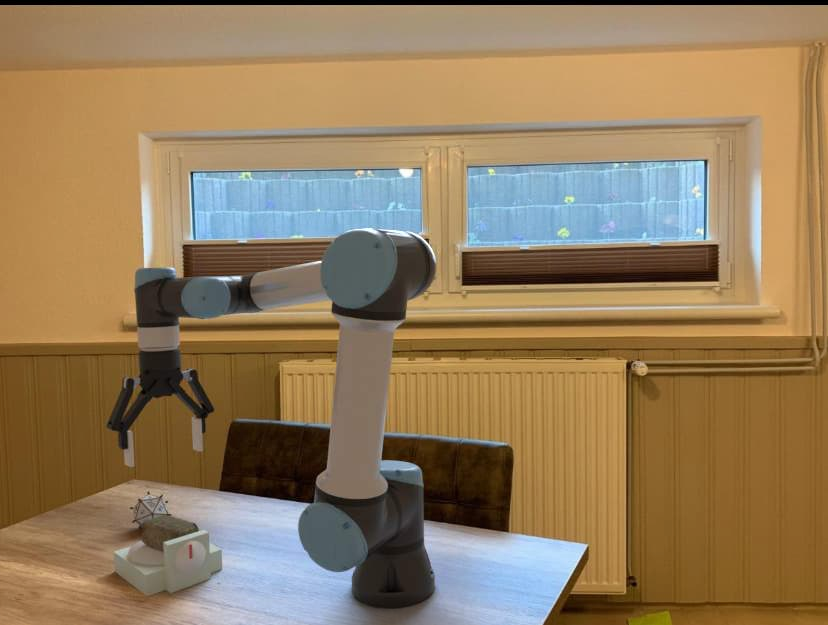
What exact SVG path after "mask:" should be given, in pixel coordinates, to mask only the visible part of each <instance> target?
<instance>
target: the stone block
mask: <svg viewBox="0 0 828 625" xmlns="http://www.w3.org/2000/svg"><path fill="white" fill-rule="evenodd" d="M198 531H200V529H199V526H198V525H197V523H196V522H192V521H189V520H187V519H182V518H178V517H175V516H173V515H172V516H169V515H162V516H159V517H156V518H153V519H150V520H148V521H145V522H143V524H142V526H141V540H142V542H143V543H144V544H146V545H148V546H150V547H152V548H156V549H158V550H162V551H164V546H163V542H166V541H169V540H172V539H176V538H179V537H182V536H185V535H188V534H192V533H195V532H198Z"/></svg>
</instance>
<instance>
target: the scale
mask: <svg viewBox="0 0 828 625" xmlns="http://www.w3.org/2000/svg"><path fill="white" fill-rule="evenodd" d="M163 546H164V551H162V550H158V549H156V548H152V547H150V546H148V545H146V544H144V543H143V542H142V540H139V541H137V542H135V543H134V544H133V545H130V546H128V547H124V548H121V549H118V550H115V551H113V562H114V563H113V564H114V572H115V573H116V574H118V575H119V576H120V577H121V578H123V579H124V580H125V581H126V582H128V583H129V584H130V585H131V586H133V587H134V588H135V589H137V591H139V592H140V593H142V594H143V595H144V596H145V597H151V596H153V595H155V594H156V595H157V594H158V593H161V592H164V591H167V592H168V593H169V594H173V593H176V592H178V591H181V590H184V589H186V588H188V587H191V586H195V585H197V584H200V583H202V582H203V583H204V582H205V581H207V580H208V581H209V580H210V579H212V574H213V573H216V572H218V571H221V570H223V555H222V554H223V552H222V549H221V548H220V547H218V546H216V545H214V544H213V543H211V542H210V532H209V531H207V530H206V529H202V530H201V529H200V530H199V531H198V532H195V533H192V534H188V535H185V536H182V537H179V538H176V539H172V540H169V541H166V542H163Z"/></svg>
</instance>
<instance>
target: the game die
mask: <svg viewBox="0 0 828 625" xmlns="http://www.w3.org/2000/svg"><path fill="white" fill-rule="evenodd" d="M146 493H147V494H146V495H145V496H144V497H143V498H137V501H138V502H137V503H136V504H135V505H134V506H130V507H129V509H130V510H132V511H133V516H134V517H133V518H134V519H133V520H132V521H131V523H132V524H134V523H137V524H138V525H139V526H138V529H142V524H143V522H145V521H148V520H150V519H153V518H156V517H159V516H162V515H169V516H173V514H171V513H169V511H168V507H167V504H168V503H169V500H166V501H165V500H164V499H163V497H164V495H163V494H160V495H159V496H157V495H154V494H151V493H150V491H149V490H148V491H147V492H146Z"/></svg>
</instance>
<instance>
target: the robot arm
mask: <svg viewBox="0 0 828 625" xmlns="http://www.w3.org/2000/svg"><path fill="white" fill-rule="evenodd" d="M436 272H437V260H436V256H435V254H434V251H433V248H432V247H431V246H430V244H429V243H428V242H427V240H426V239H424V238H423V237H422V236H420V235H418V234H416V233H414V232H411V231H408V230H407V231H406V230H393V229H392V230H390V229H380V228H379V229H378V228H374V227H371V228H369V227H368V228H366V227H363V228H356V229H351V230H348V231H345V232H343V233H341V234H339V235H338V236H337V237H335V239H334V240H332V241H331V242H330V243H329V245H328V246H327V247H326V250H325V251H324V254H323V256H322V259H321V260H318V261H317V260H316V261H312V262H307V263H302V264H295V265H291V266H284V267H280V268H274V269H269V270H263V271H259V272H253V273H252V272H251V273H247V274H240V275H220V276H218V275H217V276H213V275H212V276H209V275H207V276H201V275H200V276H187V277H186V276H185V277H178V274H177V270H176V268H174V267H170V266H168V267H161V266H159V267H140V268H137V269H136V271H135V273H134V288H133V291H134V298H135V311H136V313H135V314H136V326H137V327H136V332H137V333H136V334H137V347H138V349H139V348H140V349H141V350H139V352H138V368H139V375H138V377H128V376H124V377H123V378H122V380H121V390H120V392H119V395H118V397H117V399H116V402H115V404H114V406H113V409H112V411H111V414H110V417H109V419H108V421H107V423H106V428H107V430H110V431H113V432H117V439H118V440H117V441H118V442H117V443H118V448H119V449H120V450H123V457H124V465H125V466H127V467H129V468H133V467H135V449H134V448H135V447H134V435H133V434H134V433H133V431H132V430H130V429H131V427H132V425H133V424H135V421H136V419H137V418H138V417H139V416H140V414H141V412H142V411H143V410H144V408H145V407H146V405H147V404H148V403H149V402H150V401H151V400H152V399H153V398H154V399H160V398H162V397H172V396H173V395H174V396H176V397H177V398H178V400H179V401H180V402H182V403H183V404H184V406H186V407H187V409H188V410H190V412H191V413H193V415H195V416H192V417H191V418H190V419H191V435H192V436H191V437H192V450H194V451H196V452H204V445H203V434H206V429H207V427H206V419H207V418H208V417H209V414H213V413H214V412H215V407H214V405H213V404H212V402H211V400H210V399H209V397H208V395H207V393H206V391H205V390H204V388H203V386H202V384H201V382H200V381H199V376H198V371H197V370H196V369H193V368H187V369H186V370H183V371H182V355H181V349H180V347H178V346H180V345H181V339H180V337H181V336H180V321H179V320H180V319H179V318H184V319H185V318H186V319H188V318H189V319H198V320H205V319H208V320H210V319H216V318H220V317H221V316H228V315H229V316H230V315H237V314H252V313H259V312H263V311H266V310H274V309H280V308H285V307H286V308H288V307H292V306H293V307H294V306H301V305H307V304H314V303H322V302H329V301H331V311H330V313H331V315H332V316H333V317H334V319H335V320H336V321H337V322H338V325H339V332H338V341H337V352H336V353H337V354H336V364H335V372H334V373H335V375H334V387H333V388H334V389H333V396H332V397H333V398H332V408H331V409H332V410H331V417H330V418H331V420H330V430H329V431H330V432H329V442H328V443H329V444H328V452H327V463H326V469H325V470H324V471H322V472H321V473H320V474H318V475H317V477H316V480H315V489H314V500H313V502H312V503H310V504H308V505H307V506H306V507H305V509H304V510H303V511H302V512H301V514H300V516H299V519H298V524H297V528H298V529H297V530H298V537H299V541H300V544H301V545H302V548H303V549H304V551H306V554H308V556H309V558H310V560H312V562H314V563H315V564H316V565H318V566H319V567H320V568H322V569H324V570H326V571H329V572H333V573H343V572H344V573H345V572H347V571H350V570H352V569H353V568H355V569H353V572H352V575H351V592H352V595H353V596H354V597H355V598H356V599H357V600H358V601H360V602H361V603H363V604H364V605H365V604H366V605H368V606H372V607H378V608H386V609H387V608H388V609H390V608H391V609H394V608H402V607H409V606H412V605H416V604H418V603H421V602H423V601H425V600H427V599H428V598H430V596H432V594H433V593H434V591H435V589H436V584H435V583H436V582H435V581H436V578H435V577H436V576H435V572H434V568H433V567H432V565H431V561H430V558H429V555H428V551H427V548H426V546H425V524H424V522H425V519H424V518H425V516H424V515H425V514H424V512H425V511H424V507H425V506H424V487H425V485H424V483H423V481H424V480H423V473H422V469H421V468H420V466H418V465H416V464H414V463H411V462H408V461H407V462H406V461H400V460H389V459H387V460H385V459H384V460H382V456H383V447H384V446H383V445H384V437H385V436H384V434H385V426H386V417H387V416H386V415H387V407H388V398H389V389H390V388H389V386H390V379H391V378H390V377H391V369H392V368H391V367H392V357H393V350H394V348H393V347H394V340H395V330H396V329H397V328H398V327H399V326H400V325H401V324H403V323H404V322H405V321H406V318H407V308H408V302H409V301H411V300H414V299H416V298H418V297H420V296H421V295H423V294H424V293H426V292H427V291H428V289H429V288H430V287H431V285H432V283H433V281H434V279H435V276H436ZM183 379H184V381H186V382H187V383H188V386H189V387H190V389H191V390H192V393H193V395H194V396H195V398H196V399H197V401H198V403H199V404H198V403H197V402H196V401H195V399H193V398H192V397H191V395H189V394H188V393H187V392H186V390H185V389H184V388H183V387H182V386H181V383H182V381H183ZM137 386H140V388H141V389H140V391H139V393H138V394H137V395H136V396H137V397H136V398H135V400H134V402H132V404H131V406H130V407H129V409H128V410H127V408H128V405H129V403H130V401H131V399H132V397H133V393H134V390H136V388H137Z"/></svg>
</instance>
